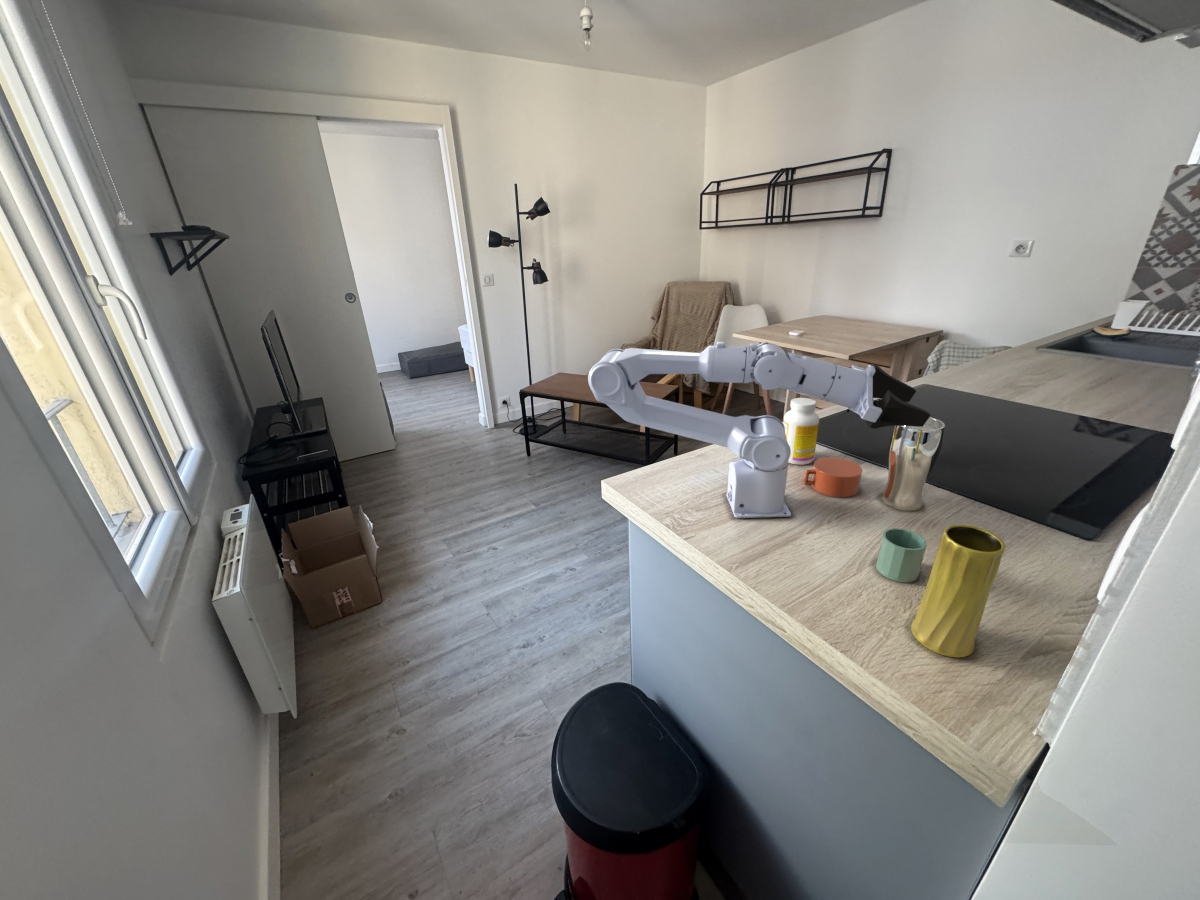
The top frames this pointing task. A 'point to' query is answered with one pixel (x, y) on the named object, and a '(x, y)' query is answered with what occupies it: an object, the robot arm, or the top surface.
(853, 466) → the mug
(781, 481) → the robot arm
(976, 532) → the vase
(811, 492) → the top surface
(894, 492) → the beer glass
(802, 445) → the supplement bottle
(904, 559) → the green faceted cup
